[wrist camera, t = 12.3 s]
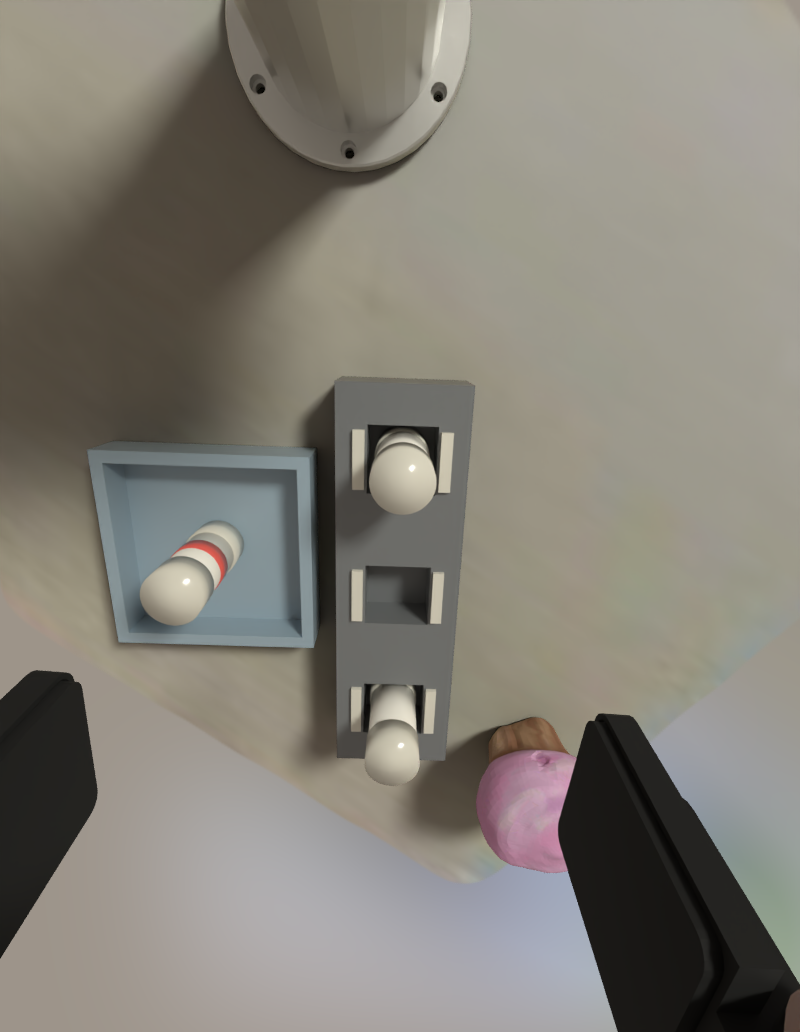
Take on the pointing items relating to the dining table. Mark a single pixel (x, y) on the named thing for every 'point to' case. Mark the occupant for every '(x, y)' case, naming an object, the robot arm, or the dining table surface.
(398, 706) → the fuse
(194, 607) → the cylinder
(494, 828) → the cupcake
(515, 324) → the dining table surface
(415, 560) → the fuse holder
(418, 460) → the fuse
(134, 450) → the tray
